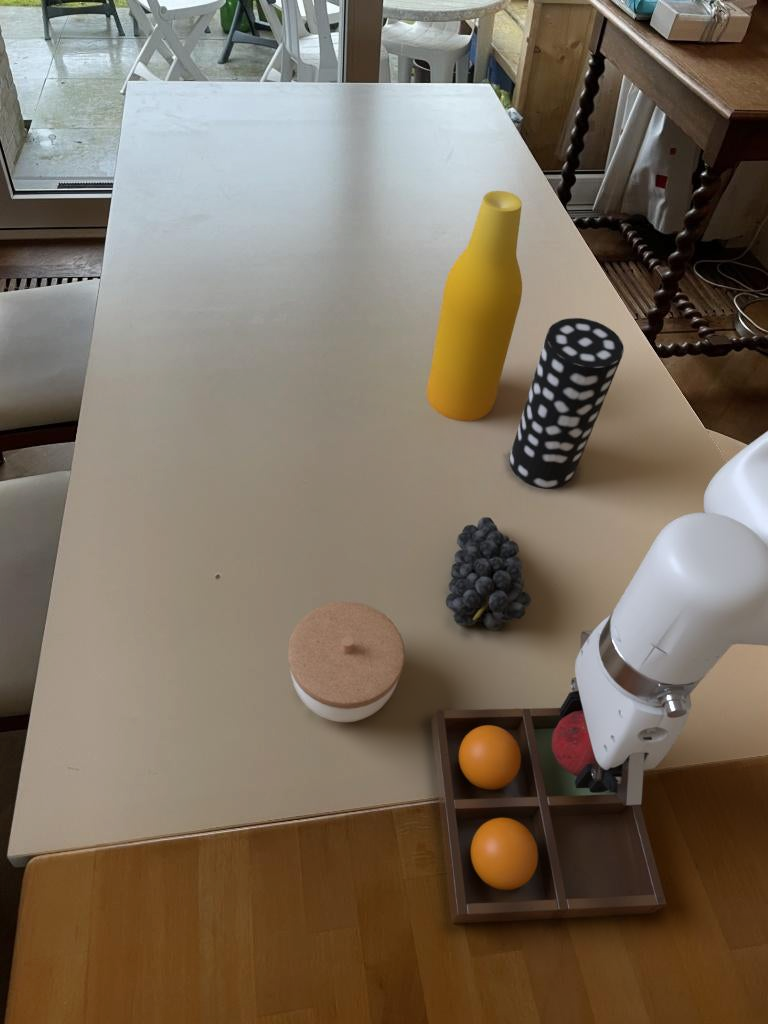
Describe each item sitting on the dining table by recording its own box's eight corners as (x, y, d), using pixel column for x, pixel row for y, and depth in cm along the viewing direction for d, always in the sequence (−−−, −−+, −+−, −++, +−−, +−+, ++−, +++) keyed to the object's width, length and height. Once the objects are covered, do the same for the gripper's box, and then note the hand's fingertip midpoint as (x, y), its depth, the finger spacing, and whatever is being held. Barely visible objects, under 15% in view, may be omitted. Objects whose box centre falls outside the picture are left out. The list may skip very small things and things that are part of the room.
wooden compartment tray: (602, 723, 78) (614, 706, 75) (650, 915, 67) (666, 904, 64) (429, 727, 76) (435, 710, 73) (450, 925, 65) (457, 914, 62)
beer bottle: (441, 369, 110) (478, 170, 87) (503, 393, 108) (556, 195, 85) (414, 409, 104) (446, 206, 82) (478, 434, 102) (528, 234, 80)
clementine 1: (508, 739, 75) (521, 714, 71) (518, 797, 72) (532, 775, 67) (450, 740, 75) (460, 715, 70) (458, 799, 71) (468, 777, 67)
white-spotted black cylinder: (543, 502, 96) (590, 378, 80) (494, 462, 99) (531, 336, 84) (586, 472, 100) (639, 348, 84) (538, 434, 103) (580, 308, 88)
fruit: (477, 477, 85) (472, 591, 75) (543, 504, 87) (546, 617, 77) (441, 522, 91) (432, 632, 81) (503, 546, 93) (502, 656, 83)
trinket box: (318, 625, 82) (320, 575, 75) (412, 665, 80) (424, 617, 73) (269, 712, 76) (266, 666, 68) (371, 757, 74) (379, 715, 66)
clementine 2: (523, 828, 70) (538, 807, 66) (534, 896, 67) (551, 878, 62) (461, 830, 69) (472, 809, 65) (470, 899, 66) (482, 881, 62)
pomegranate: (542, 784, 71) (565, 749, 65) (544, 725, 75) (566, 687, 69) (605, 796, 71) (634, 762, 65) (605, 737, 75) (632, 699, 68)
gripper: (743, 764, 52) (649, 846, 66) (668, 553, 63) (601, 662, 77) (634, 768, 51) (562, 849, 65) (577, 553, 62) (526, 663, 76)
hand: (584, 747), depth 71 cm, fingers closed on pomegranate, 5 cm apart
